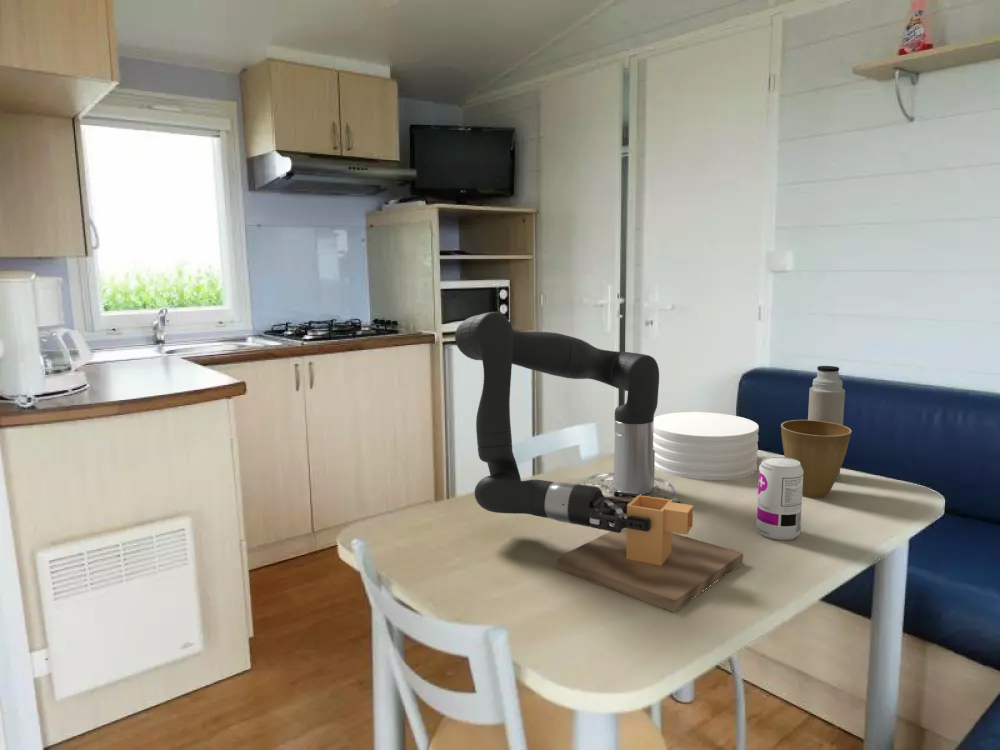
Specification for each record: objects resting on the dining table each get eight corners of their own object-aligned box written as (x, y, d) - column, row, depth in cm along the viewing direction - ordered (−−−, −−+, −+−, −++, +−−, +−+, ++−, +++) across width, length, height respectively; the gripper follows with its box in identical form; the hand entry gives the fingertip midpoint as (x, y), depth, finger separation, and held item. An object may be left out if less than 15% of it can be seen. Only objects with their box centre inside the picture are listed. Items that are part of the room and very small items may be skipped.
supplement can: (756, 538, 138) (759, 465, 135) (756, 523, 146) (759, 454, 143) (800, 543, 135) (804, 469, 133) (798, 528, 143) (802, 457, 140)
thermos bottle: (830, 470, 180) (837, 363, 176) (845, 480, 172) (852, 368, 168) (799, 471, 180) (805, 364, 176) (813, 480, 172) (819, 369, 168)
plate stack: (693, 486, 170) (695, 441, 168) (629, 458, 196) (629, 418, 194) (780, 471, 181) (782, 428, 179) (708, 446, 207) (709, 408, 205)
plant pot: (771, 496, 162) (774, 429, 159) (785, 479, 174) (788, 417, 171) (842, 508, 153) (846, 438, 151) (851, 489, 166) (855, 423, 163)
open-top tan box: (626, 558, 125) (627, 505, 124) (637, 545, 131) (638, 494, 129) (684, 570, 120) (685, 515, 119) (693, 556, 126) (694, 503, 124)
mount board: (631, 530, 143) (631, 520, 143) (742, 563, 127) (742, 553, 127) (557, 568, 127) (556, 557, 126) (674, 612, 110) (674, 600, 110)
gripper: (558, 496, 126) (645, 510, 118) (587, 474, 138) (668, 485, 130) (558, 535, 127) (645, 551, 119) (587, 510, 139) (668, 523, 131)
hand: (657, 517), depth 125 cm, fingers open, 8 cm apart
